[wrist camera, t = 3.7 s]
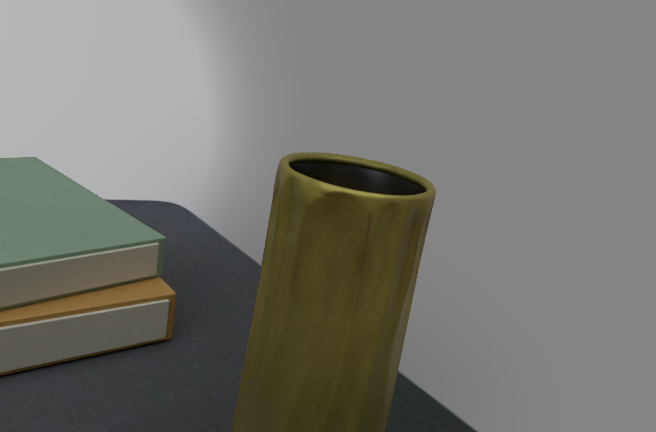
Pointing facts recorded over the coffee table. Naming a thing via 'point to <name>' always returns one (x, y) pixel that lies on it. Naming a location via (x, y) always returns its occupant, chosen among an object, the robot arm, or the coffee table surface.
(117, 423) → the coffee table surface
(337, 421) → the vase
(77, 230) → the book stack
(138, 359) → the coffee table surface
